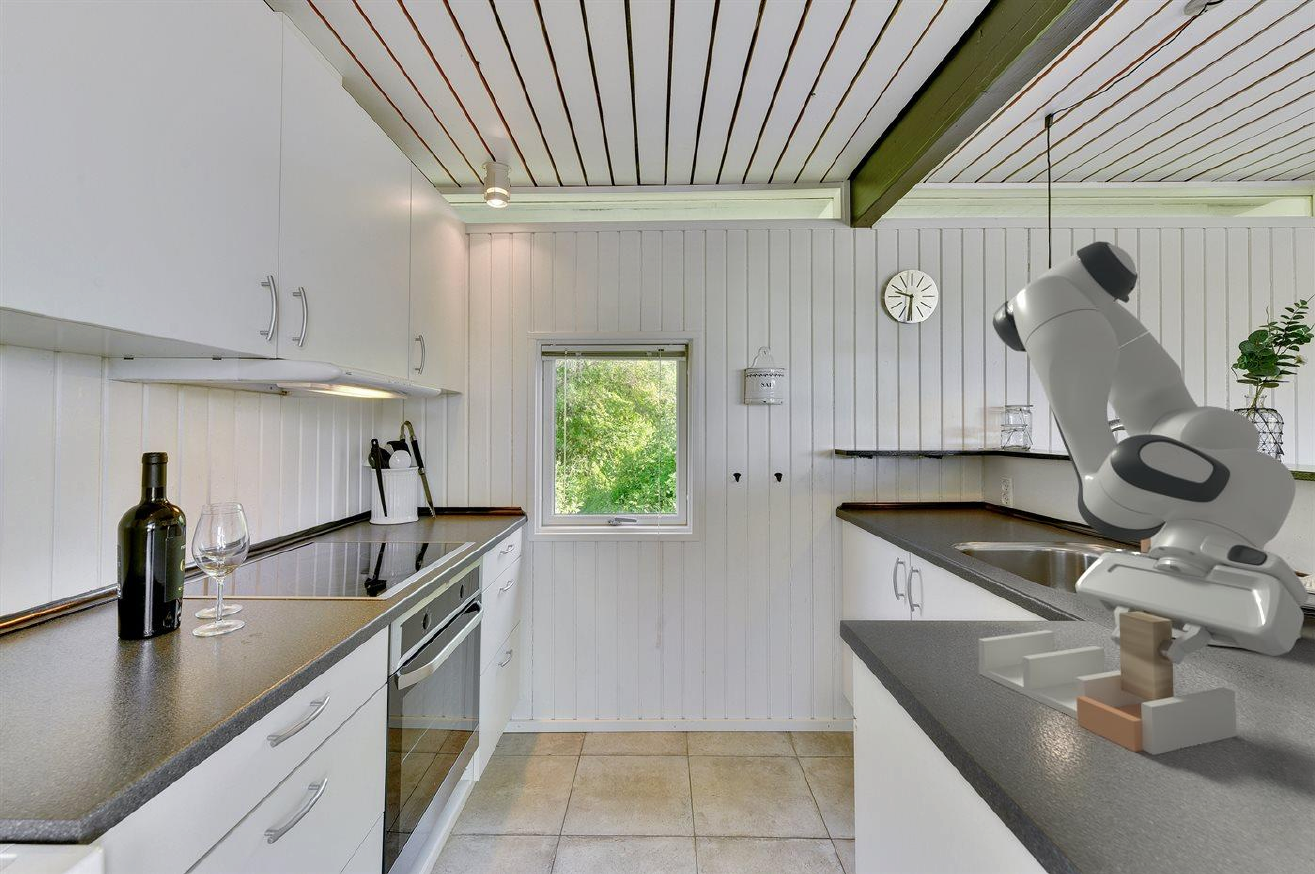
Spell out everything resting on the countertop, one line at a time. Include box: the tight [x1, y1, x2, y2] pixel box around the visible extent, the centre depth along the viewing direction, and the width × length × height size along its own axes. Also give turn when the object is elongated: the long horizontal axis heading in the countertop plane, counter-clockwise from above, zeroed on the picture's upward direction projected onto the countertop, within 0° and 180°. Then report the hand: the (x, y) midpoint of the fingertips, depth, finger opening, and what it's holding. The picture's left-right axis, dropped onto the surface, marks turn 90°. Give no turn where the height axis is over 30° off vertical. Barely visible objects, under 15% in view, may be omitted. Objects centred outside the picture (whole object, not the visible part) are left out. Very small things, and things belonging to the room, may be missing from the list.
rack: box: [977, 629, 1238, 756], centre depth 70 cm, size 14×22×5 cm, turn 16°
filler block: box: [1119, 611, 1175, 701], centre depth 64 cm, size 3×4×9 cm
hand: (1142, 650), depth 64 cm, fingers closed on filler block, 3 cm apart
